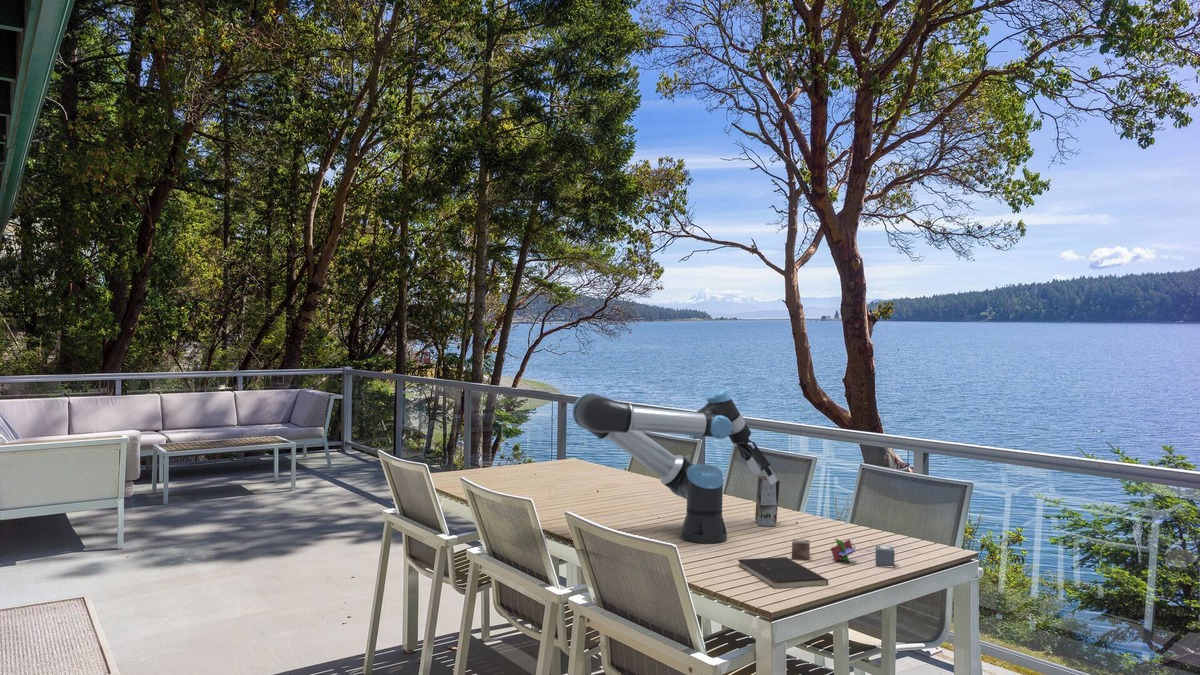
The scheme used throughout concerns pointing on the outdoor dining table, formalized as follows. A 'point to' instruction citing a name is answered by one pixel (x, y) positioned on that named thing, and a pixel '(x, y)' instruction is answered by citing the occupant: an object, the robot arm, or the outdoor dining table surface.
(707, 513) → the robot arm
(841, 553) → the geometric puzzle
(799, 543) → the walnut dotted block
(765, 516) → the coffee box
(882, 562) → the charcoal dotted block
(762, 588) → the outdoor dining table surface
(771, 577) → the hardcover book
